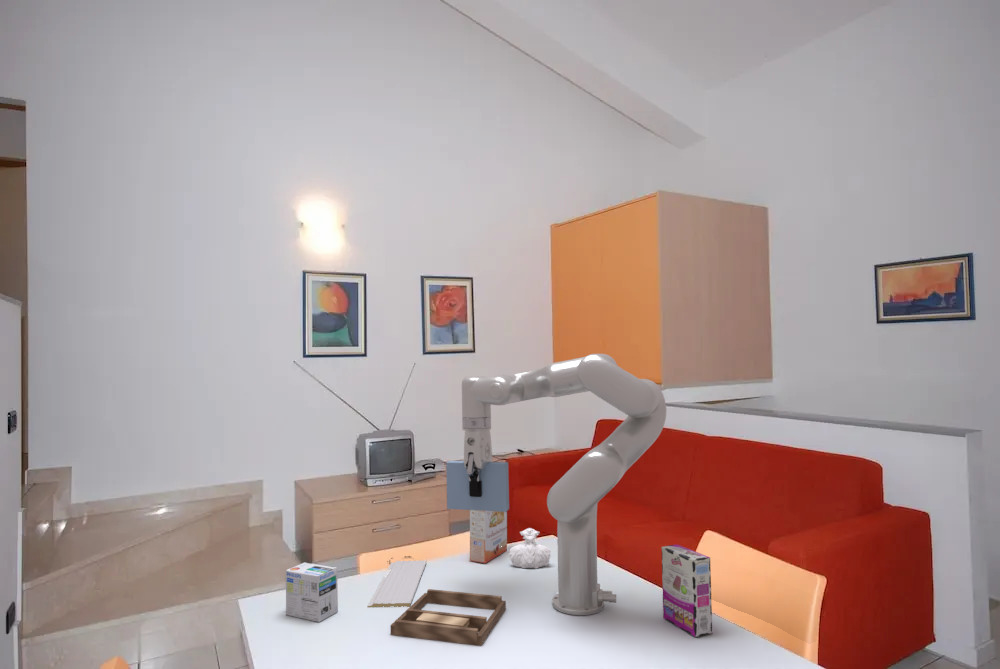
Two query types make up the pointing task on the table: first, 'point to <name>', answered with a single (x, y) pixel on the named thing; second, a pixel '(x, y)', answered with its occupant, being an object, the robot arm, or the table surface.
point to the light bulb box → (311, 591)
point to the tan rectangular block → (443, 620)
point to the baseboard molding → (398, 584)
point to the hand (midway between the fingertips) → (477, 494)
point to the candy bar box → (687, 590)
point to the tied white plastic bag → (529, 552)
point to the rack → (448, 633)
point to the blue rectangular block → (492, 487)
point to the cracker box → (487, 535)
